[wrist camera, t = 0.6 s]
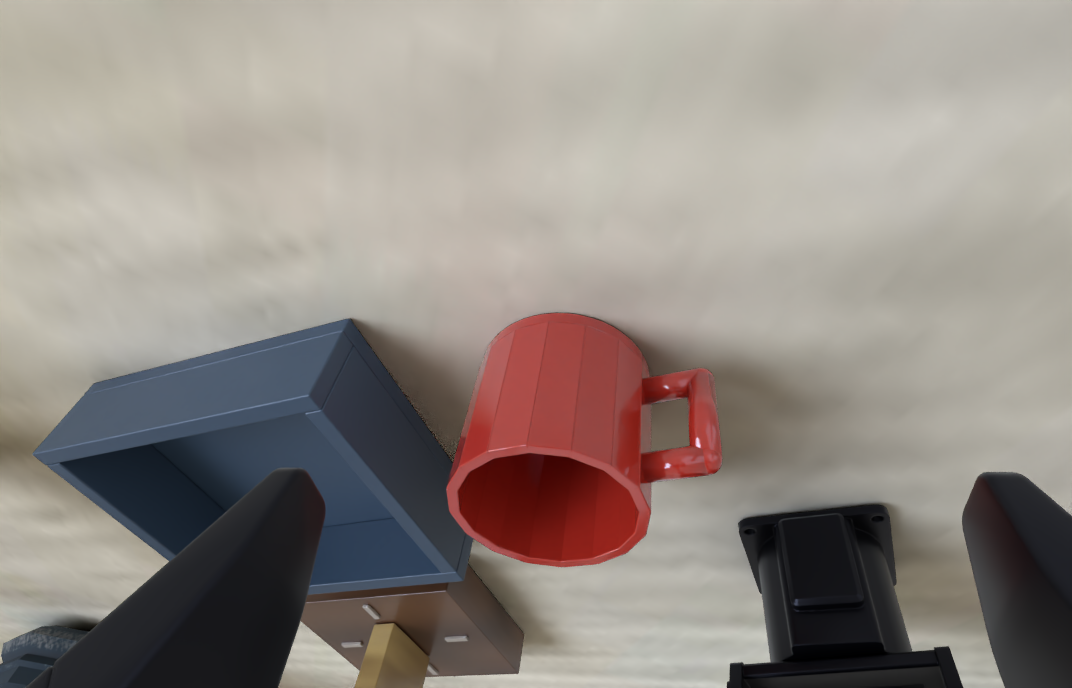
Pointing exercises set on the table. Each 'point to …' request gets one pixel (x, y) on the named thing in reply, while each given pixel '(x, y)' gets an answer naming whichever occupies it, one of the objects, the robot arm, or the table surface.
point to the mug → (571, 442)
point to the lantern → (34, 654)
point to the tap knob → (392, 660)
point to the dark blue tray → (271, 454)
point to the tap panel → (424, 625)
